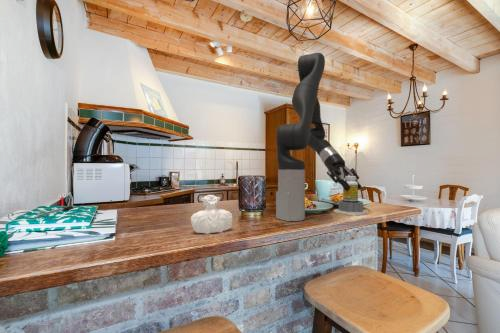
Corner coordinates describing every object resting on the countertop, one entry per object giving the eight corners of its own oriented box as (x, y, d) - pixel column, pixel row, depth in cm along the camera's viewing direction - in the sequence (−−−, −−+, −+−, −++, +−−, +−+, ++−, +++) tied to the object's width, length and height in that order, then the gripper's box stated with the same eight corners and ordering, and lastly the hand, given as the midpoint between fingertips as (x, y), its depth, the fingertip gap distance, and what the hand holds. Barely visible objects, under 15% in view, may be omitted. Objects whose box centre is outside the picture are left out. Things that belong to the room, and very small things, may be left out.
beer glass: (352, 202, 91) (352, 176, 91) (340, 200, 95) (340, 176, 95) (360, 200, 94) (360, 176, 94) (348, 199, 98) (348, 175, 98)
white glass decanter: (231, 236, 70) (224, 202, 76) (238, 224, 64) (230, 189, 71) (190, 241, 65) (186, 205, 72) (193, 229, 60) (189, 191, 66)
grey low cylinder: (355, 216, 88) (355, 203, 88) (333, 212, 95) (333, 201, 95) (368, 213, 93) (368, 201, 93) (346, 209, 101) (346, 199, 101)
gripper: (323, 152, 98) (346, 183, 87) (348, 153, 104) (372, 182, 93) (314, 165, 103) (335, 196, 92) (339, 165, 109) (361, 194, 98)
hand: (354, 189), depth 93 cm, fingers closed on beer glass, 5 cm apart
